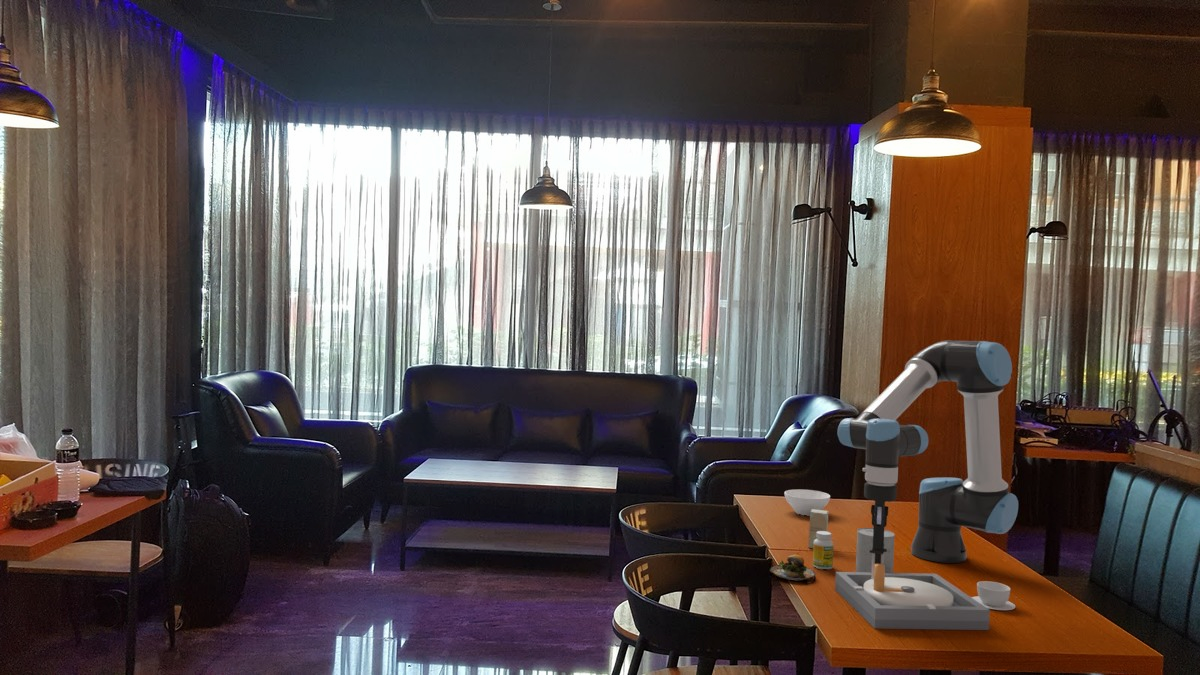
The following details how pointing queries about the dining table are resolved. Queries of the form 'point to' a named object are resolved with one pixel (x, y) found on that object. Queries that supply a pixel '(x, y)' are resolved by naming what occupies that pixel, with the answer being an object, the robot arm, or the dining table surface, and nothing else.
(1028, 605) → the dining table surface
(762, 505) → the dining table surface
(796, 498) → the bowl
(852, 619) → the dining table surface
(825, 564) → the supplement bottle
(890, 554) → the gray speckled cylinder
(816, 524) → the box
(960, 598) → the grey square tray
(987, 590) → the teacup
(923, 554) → the robot arm
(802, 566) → the multicoloured round food plate
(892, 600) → the dial
